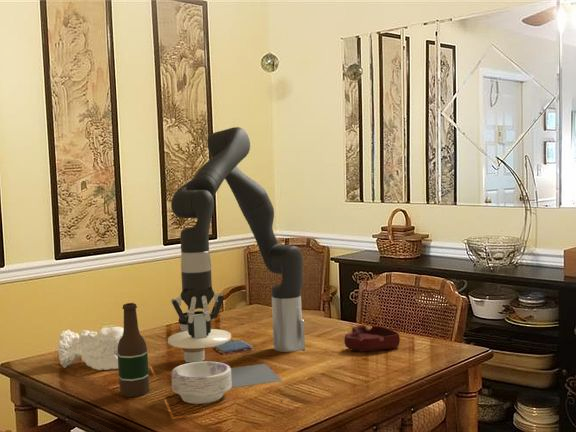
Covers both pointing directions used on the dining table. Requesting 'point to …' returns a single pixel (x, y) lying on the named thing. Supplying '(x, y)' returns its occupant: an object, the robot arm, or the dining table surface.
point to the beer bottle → (132, 357)
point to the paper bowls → (201, 381)
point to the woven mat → (233, 347)
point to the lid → (199, 336)
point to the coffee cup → (194, 353)
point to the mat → (252, 375)
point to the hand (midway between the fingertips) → (199, 335)
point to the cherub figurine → (91, 348)
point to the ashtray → (371, 338)
